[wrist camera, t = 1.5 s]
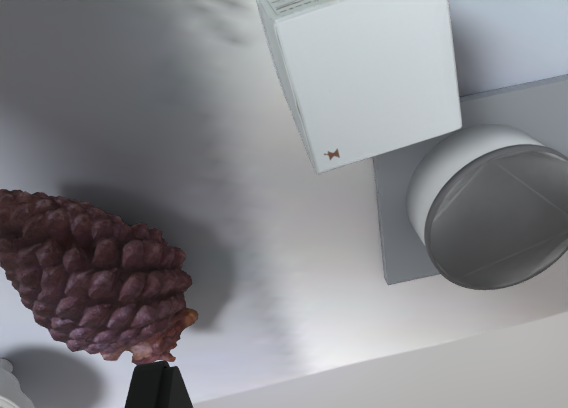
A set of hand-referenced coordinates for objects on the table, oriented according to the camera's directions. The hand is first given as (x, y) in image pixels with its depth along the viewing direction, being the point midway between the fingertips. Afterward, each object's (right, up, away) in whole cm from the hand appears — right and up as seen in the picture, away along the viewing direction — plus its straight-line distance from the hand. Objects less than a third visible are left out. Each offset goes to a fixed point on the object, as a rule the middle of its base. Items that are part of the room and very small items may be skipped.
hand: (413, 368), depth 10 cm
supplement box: (0, +15, +22) cm, 27 cm away
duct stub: (+12, +5, +29) cm, 32 cm away
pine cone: (-16, +1, +28) cm, 32 cm away
